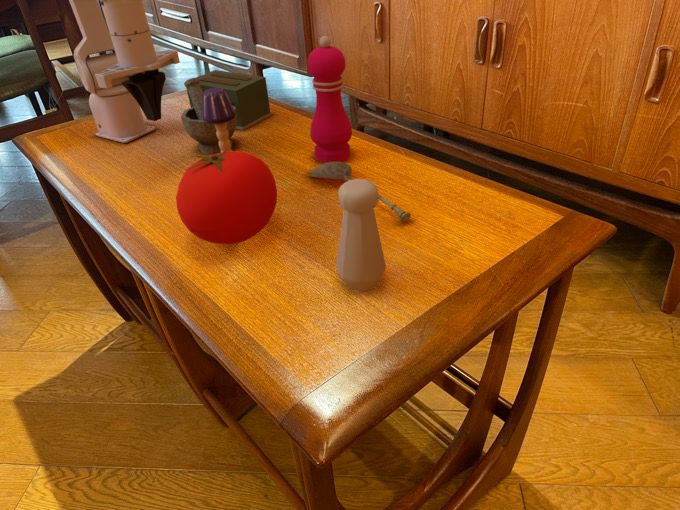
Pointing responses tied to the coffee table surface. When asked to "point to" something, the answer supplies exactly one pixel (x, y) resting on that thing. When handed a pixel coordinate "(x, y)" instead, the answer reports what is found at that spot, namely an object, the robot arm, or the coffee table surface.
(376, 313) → the coffee table surface
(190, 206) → the tomato
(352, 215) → the salt shaker
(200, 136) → the mortar and pestle
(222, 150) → the toy lamp
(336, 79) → the pepper mill
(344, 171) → the soupspoon
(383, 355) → the coffee table surface
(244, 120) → the toaster
